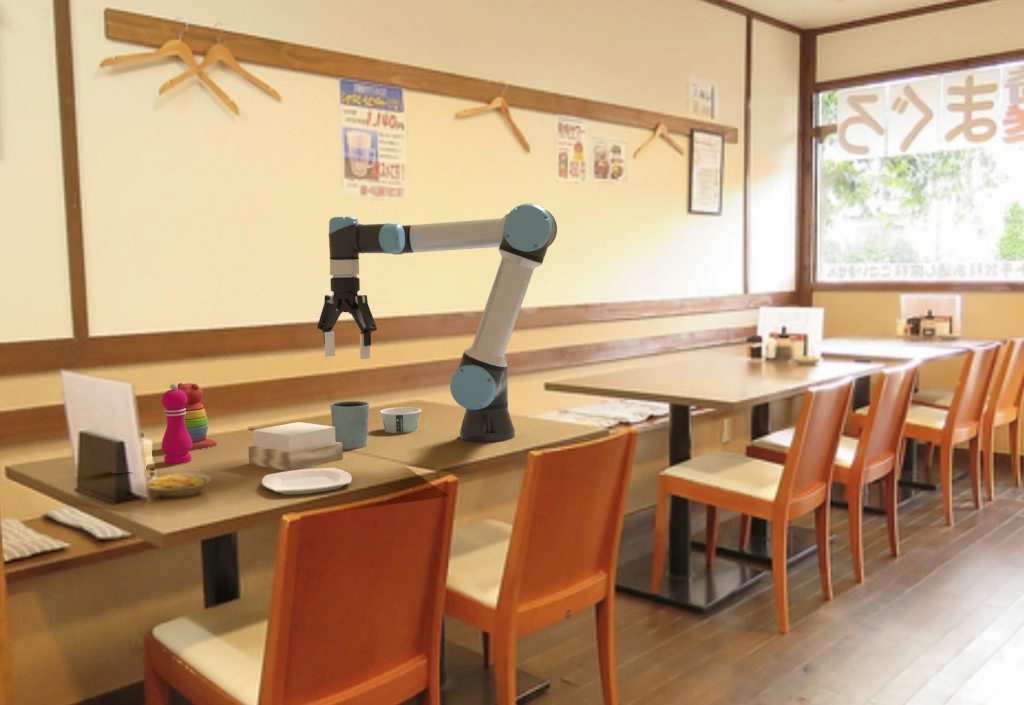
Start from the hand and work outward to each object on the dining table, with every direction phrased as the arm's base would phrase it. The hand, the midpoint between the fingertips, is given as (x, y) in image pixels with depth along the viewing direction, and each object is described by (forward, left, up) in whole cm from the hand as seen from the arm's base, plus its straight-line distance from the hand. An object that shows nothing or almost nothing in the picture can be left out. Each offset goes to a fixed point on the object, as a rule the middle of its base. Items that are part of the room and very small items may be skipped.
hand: (347, 357), depth 233 cm
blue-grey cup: (0, 0, -25) cm, 25 cm away
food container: (+5, -24, -25) cm, 35 cm away
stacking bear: (+38, +23, -25) cm, 51 cm away
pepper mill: (+24, +36, -25) cm, 50 cm away
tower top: (-2, +20, -20) cm, 28 cm away
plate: (-23, +34, -25) cm, 48 cm away
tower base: (-2, +20, -25) cm, 32 cm away
